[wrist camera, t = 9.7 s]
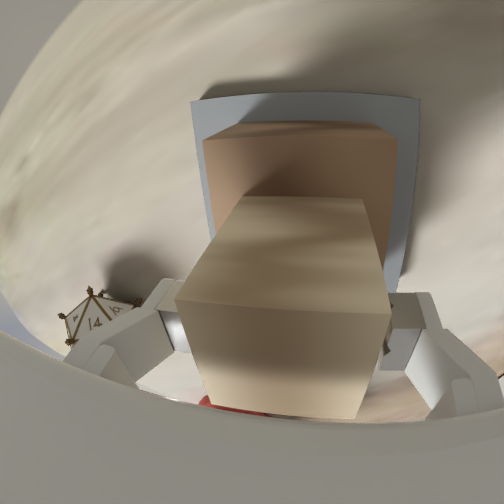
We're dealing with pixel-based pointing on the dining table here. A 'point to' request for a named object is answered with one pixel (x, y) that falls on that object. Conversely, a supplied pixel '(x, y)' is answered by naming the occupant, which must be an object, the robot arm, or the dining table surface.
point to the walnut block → (304, 166)
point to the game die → (93, 315)
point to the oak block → (288, 307)
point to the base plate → (327, 109)
